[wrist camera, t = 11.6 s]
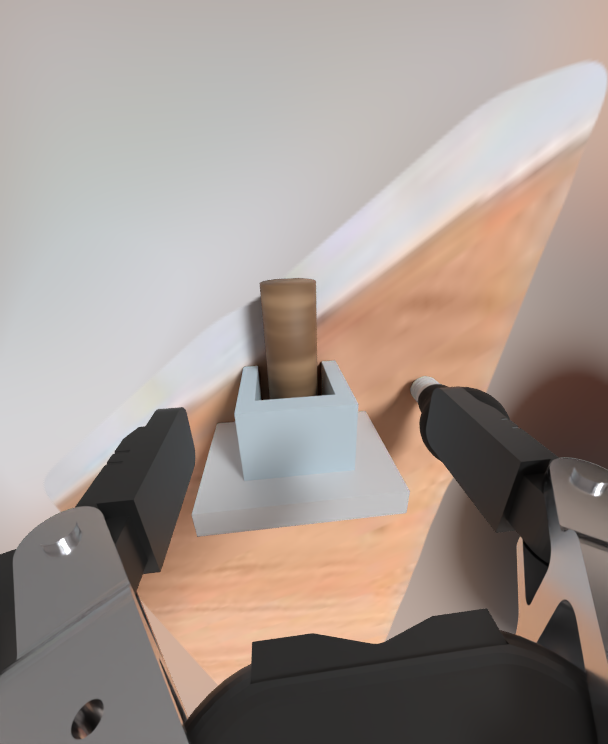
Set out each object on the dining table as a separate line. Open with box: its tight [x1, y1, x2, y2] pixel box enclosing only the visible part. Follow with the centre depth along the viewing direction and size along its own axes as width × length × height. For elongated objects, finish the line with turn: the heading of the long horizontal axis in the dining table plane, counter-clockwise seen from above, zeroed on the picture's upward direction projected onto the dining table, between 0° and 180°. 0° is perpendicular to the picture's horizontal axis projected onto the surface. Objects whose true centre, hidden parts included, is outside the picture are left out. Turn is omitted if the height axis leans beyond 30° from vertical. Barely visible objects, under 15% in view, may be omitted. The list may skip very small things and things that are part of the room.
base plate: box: [192, 411, 410, 537], centre depth 24 cm, size 2×14×10 cm, turn 91°
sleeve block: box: [234, 361, 358, 481], centre depth 24 cm, size 6×8×8 cm
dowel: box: [260, 278, 317, 400], centre depth 24 cm, size 11×4×4 cm, turn 2°
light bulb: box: [410, 376, 510, 462], centre depth 24 cm, size 6×6×10 cm
